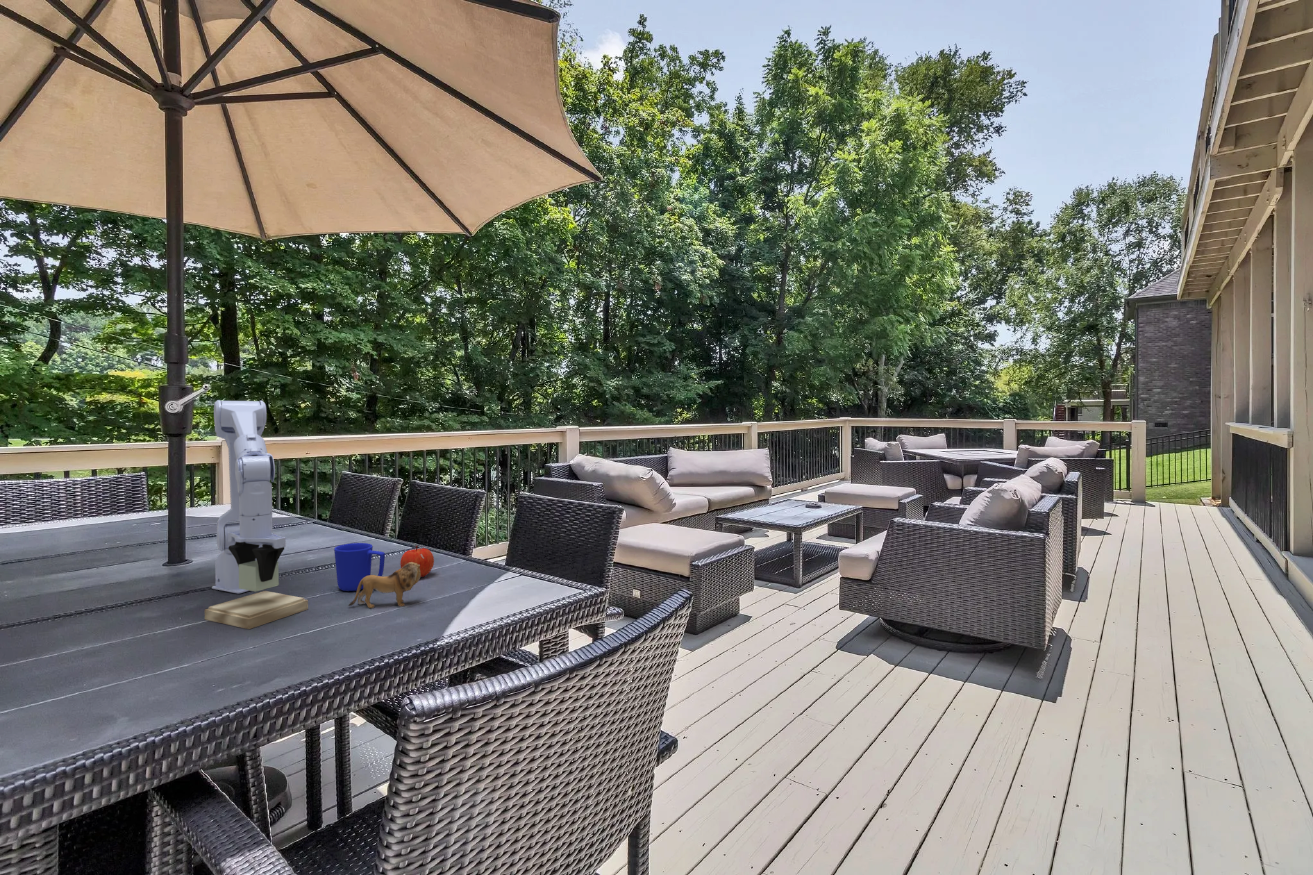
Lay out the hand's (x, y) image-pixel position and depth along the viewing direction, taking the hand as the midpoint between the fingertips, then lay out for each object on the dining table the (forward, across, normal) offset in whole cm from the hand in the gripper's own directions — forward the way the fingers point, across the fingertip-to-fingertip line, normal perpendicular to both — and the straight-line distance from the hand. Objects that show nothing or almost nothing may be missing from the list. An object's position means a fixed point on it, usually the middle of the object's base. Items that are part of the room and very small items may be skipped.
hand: (257, 578), depth 131 cm
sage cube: (+2, 0, 0) cm, 2 cm away
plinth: (+8, 0, 0) cm, 8 cm away
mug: (+8, +5, +22) cm, 24 cm away
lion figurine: (+8, +19, +16) cm, 26 cm away
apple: (+8, +9, +36) cm, 38 cm away
